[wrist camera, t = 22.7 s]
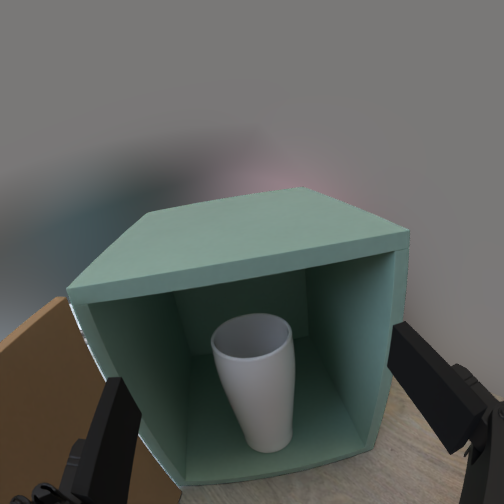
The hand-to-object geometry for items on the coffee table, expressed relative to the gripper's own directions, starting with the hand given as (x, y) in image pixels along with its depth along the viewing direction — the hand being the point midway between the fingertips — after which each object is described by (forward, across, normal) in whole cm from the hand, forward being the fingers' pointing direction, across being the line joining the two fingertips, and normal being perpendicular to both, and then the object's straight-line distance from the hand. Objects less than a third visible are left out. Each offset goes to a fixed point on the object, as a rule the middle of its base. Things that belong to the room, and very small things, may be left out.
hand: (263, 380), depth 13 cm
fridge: (+17, 0, -20) cm, 26 cm away
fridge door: (-6, -16, -20) cm, 26 cm away
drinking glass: (+10, 0, -19) cm, 22 cm away
